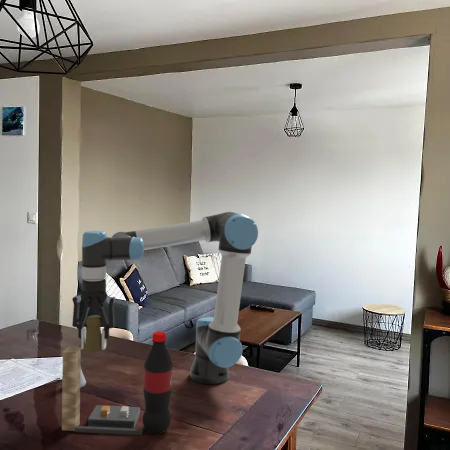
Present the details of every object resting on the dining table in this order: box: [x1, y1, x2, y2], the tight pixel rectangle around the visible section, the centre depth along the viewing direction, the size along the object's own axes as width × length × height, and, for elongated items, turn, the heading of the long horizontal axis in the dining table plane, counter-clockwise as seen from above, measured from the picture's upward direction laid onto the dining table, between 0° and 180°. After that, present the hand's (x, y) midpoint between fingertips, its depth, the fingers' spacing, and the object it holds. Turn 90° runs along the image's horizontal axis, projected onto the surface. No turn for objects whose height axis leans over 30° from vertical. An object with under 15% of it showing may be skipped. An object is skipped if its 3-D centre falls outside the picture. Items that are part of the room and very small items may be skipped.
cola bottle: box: [142, 330, 174, 435], centre depth 142 cm, size 8×8×30 cm
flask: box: [80, 365, 87, 389], centre depth 171 cm, size 7×7×10 cm
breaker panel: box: [87, 404, 141, 429], centre depth 147 cm, size 14×9×4 cm, turn 89°
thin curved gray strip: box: [74, 425, 144, 436], centre depth 140 cm, size 20×1×1 cm, turn 89°
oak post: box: [61, 346, 82, 432], centre depth 141 cm, size 4×4×24 cm
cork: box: [83, 314, 103, 353], centre depth 155 cm, size 6×6×11 cm
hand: (93, 347), depth 156 cm, fingers closed on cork, 6 cm apart
